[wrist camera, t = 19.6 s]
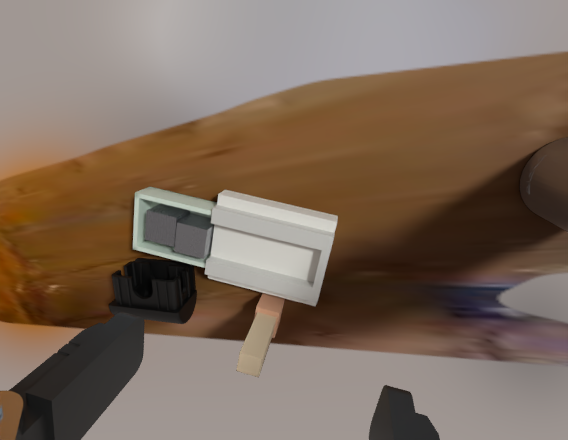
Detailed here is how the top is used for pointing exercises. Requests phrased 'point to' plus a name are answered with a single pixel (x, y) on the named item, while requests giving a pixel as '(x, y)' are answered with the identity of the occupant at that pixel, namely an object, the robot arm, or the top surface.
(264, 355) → the two-tone stepped bar
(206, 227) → the grey cube block
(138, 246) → the tray
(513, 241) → the top surface
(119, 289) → the end cap
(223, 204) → the slot board
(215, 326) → the top surface
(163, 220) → the dark grey cube
